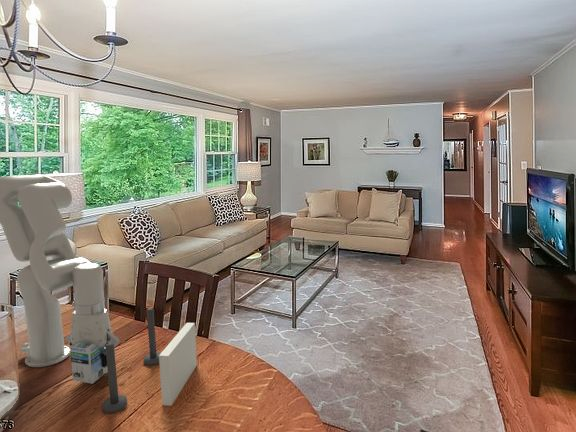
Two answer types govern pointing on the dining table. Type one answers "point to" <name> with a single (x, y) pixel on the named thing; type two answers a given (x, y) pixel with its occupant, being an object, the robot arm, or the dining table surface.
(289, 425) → the dining table surface
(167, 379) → the breaker panel
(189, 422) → the dining table surface
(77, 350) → the light bulb box
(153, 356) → the cord post
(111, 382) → the post
